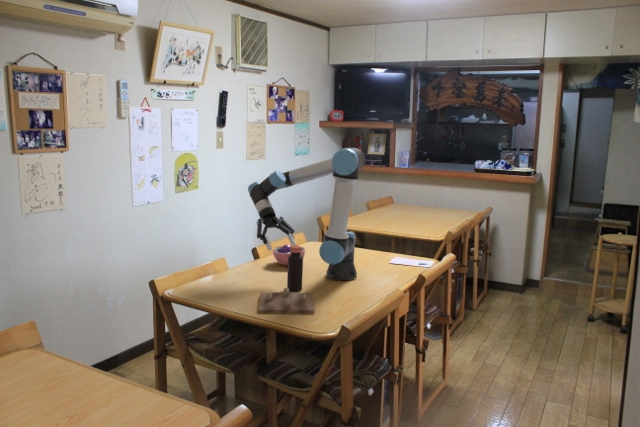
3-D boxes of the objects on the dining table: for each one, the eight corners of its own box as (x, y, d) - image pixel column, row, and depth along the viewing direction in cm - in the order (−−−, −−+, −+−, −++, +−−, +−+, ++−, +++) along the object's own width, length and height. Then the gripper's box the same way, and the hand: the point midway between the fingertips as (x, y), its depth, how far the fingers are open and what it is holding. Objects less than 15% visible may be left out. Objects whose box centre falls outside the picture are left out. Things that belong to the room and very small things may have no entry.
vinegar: (296, 292, 240) (297, 249, 237) (284, 289, 244) (285, 247, 240) (304, 289, 246) (306, 246, 243) (292, 286, 249) (293, 244, 246)
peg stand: (310, 296, 237) (311, 286, 236) (313, 313, 215) (314, 302, 214) (260, 295, 235) (260, 285, 234) (258, 313, 213) (258, 302, 212)
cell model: (312, 263, 292) (312, 243, 290) (290, 271, 275) (291, 249, 273) (286, 258, 301) (287, 238, 299) (264, 265, 284) (265, 244, 282)
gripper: (283, 213, 268) (300, 248, 259) (240, 217, 253) (256, 255, 244) (290, 204, 263) (307, 240, 254) (246, 208, 248) (263, 246, 239)
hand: (282, 247), depth 249 cm, fingers open, 13 cm apart
